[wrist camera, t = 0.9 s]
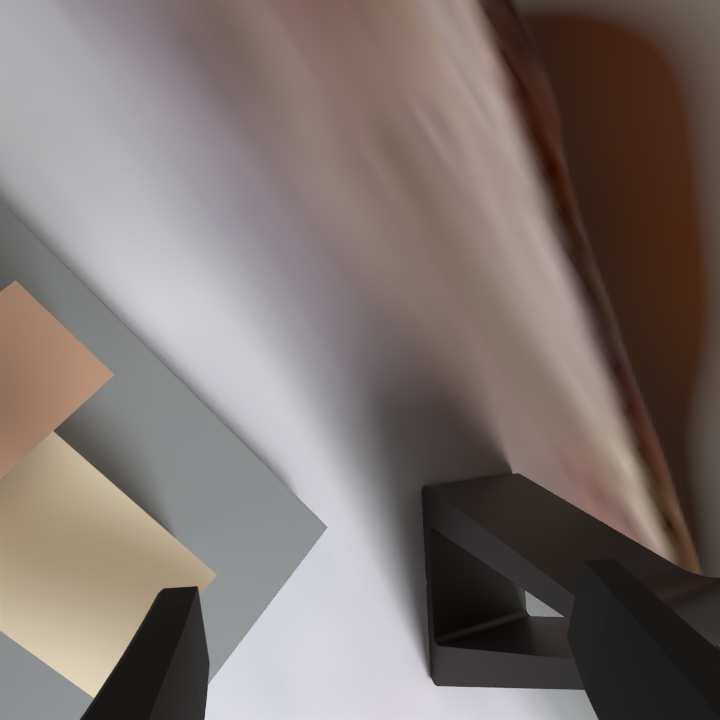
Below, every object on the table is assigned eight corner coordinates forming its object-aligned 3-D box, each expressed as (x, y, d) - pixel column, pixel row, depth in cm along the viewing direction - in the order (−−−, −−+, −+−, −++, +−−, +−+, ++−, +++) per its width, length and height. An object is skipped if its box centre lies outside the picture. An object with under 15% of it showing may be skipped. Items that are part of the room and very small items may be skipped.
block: (87, 653, 19) (107, 707, 15) (-227, 419, 15) (-291, 421, 12) (179, 547, 20) (216, 574, 17) (-85, 316, 17) (-106, 291, 14)
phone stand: (421, 484, 28) (664, 524, 18) (513, 472, 31) (765, 501, 21) (430, 682, 28) (686, 841, 17) (523, 650, 31) (787, 768, 20)
